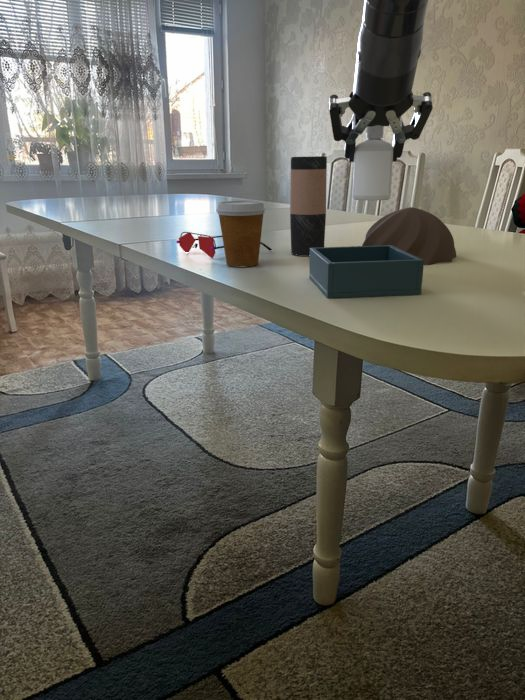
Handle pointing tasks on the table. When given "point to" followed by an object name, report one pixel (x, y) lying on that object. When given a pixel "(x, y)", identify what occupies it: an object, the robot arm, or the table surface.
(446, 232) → the decorative dome
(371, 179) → the eye dropper bottle
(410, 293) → the bin
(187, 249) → the glasses
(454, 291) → the table surface
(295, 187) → the travel mug
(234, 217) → the disposable coffee cup
